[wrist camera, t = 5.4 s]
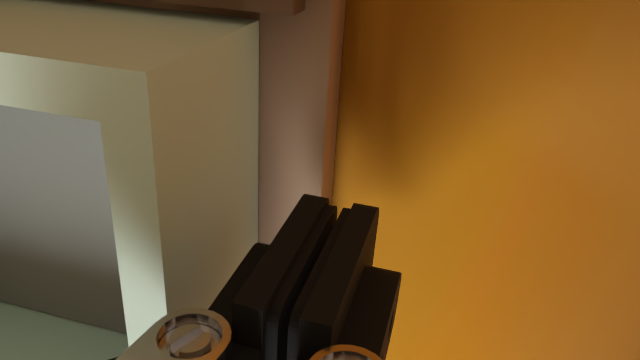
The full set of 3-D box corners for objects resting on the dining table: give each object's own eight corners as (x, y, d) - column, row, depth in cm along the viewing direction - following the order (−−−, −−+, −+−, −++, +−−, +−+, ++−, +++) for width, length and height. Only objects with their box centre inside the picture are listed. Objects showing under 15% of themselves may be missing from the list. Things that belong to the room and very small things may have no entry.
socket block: (259, 20, 12) (145, 72, 8) (257, 361, 17) (182, 502, 13) (-103, -21, 14) (-329, 5, 10) (-21, 291, 19) (-158, 392, 15)
